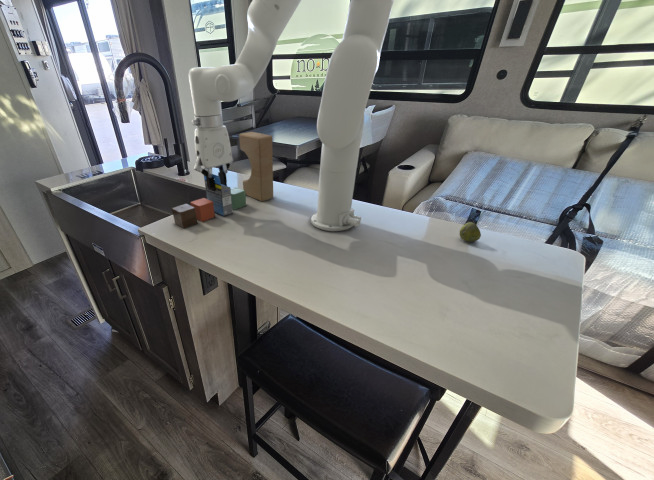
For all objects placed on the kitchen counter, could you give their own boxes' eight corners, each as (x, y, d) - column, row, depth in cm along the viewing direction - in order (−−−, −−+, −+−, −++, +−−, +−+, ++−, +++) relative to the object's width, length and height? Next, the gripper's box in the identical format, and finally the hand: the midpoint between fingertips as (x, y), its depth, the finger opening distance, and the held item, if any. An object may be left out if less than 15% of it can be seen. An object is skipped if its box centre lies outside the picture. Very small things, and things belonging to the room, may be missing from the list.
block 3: (246, 205, 105) (245, 190, 102) (234, 209, 102) (233, 194, 99) (237, 201, 108) (235, 187, 105) (225, 205, 105) (224, 191, 102)
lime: (458, 235, 82) (465, 217, 79) (479, 240, 80) (487, 222, 77) (454, 241, 80) (461, 223, 77) (475, 247, 77) (483, 228, 74)
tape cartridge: (233, 213, 100) (230, 173, 93) (223, 216, 98) (219, 176, 91) (216, 206, 105) (212, 168, 98) (207, 209, 103) (202, 170, 96)
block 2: (215, 216, 98) (212, 201, 95) (201, 221, 96) (199, 206, 93) (206, 212, 101) (203, 197, 98) (193, 217, 99) (190, 202, 96)
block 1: (197, 223, 95) (194, 207, 92) (183, 228, 92) (180, 212, 89) (189, 218, 98) (186, 203, 95) (175, 223, 95) (171, 208, 92)
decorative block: (242, 194, 114) (238, 133, 102) (255, 190, 116) (252, 131, 104) (261, 202, 107) (258, 138, 95) (274, 198, 109) (273, 135, 97)
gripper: (190, 128, 80) (202, 198, 91) (240, 119, 88) (245, 184, 99) (176, 125, 84) (188, 192, 95) (225, 116, 93) (231, 179, 104)
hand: (217, 187), depth 97 cm, fingers closed on tape cartridge, 3 cm apart
